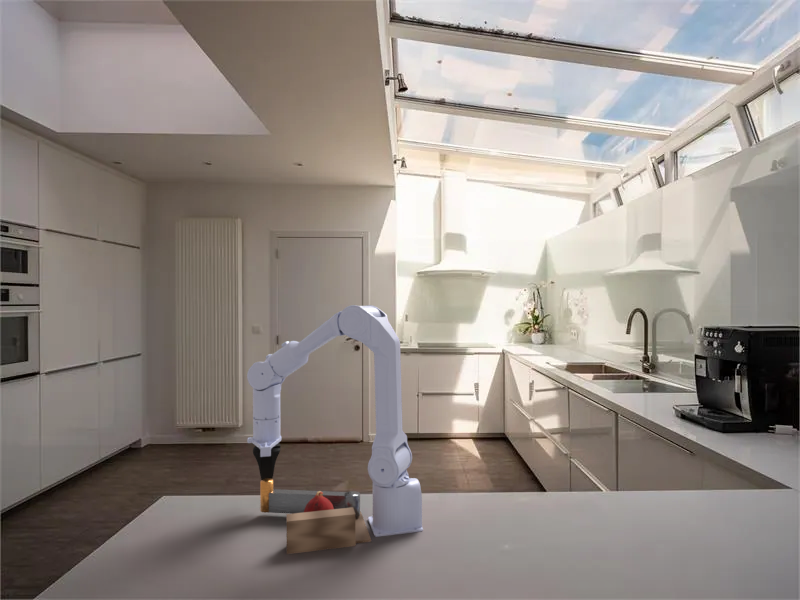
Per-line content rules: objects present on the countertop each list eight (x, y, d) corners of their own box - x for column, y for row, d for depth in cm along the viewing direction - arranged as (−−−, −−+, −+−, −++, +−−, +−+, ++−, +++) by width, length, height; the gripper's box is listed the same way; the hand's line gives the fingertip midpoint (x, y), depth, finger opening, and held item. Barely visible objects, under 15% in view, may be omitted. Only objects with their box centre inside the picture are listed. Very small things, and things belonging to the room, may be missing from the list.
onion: (328, 543, 87) (327, 499, 87) (298, 540, 88) (298, 496, 88) (338, 528, 93) (338, 487, 93) (310, 526, 94) (310, 485, 94)
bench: (360, 514, 99) (360, 485, 99) (372, 545, 86) (371, 512, 86) (286, 522, 96) (286, 492, 96) (286, 556, 83) (286, 521, 83)
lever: (361, 511, 98) (361, 481, 98) (358, 517, 95) (358, 487, 95) (263, 506, 101) (263, 477, 101) (257, 513, 97) (257, 483, 97)
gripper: (249, 410, 109) (249, 470, 109) (244, 426, 95) (244, 495, 95) (281, 409, 111) (281, 467, 110) (281, 424, 96) (281, 491, 96)
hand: (267, 480), depth 103 cm, fingers closed
